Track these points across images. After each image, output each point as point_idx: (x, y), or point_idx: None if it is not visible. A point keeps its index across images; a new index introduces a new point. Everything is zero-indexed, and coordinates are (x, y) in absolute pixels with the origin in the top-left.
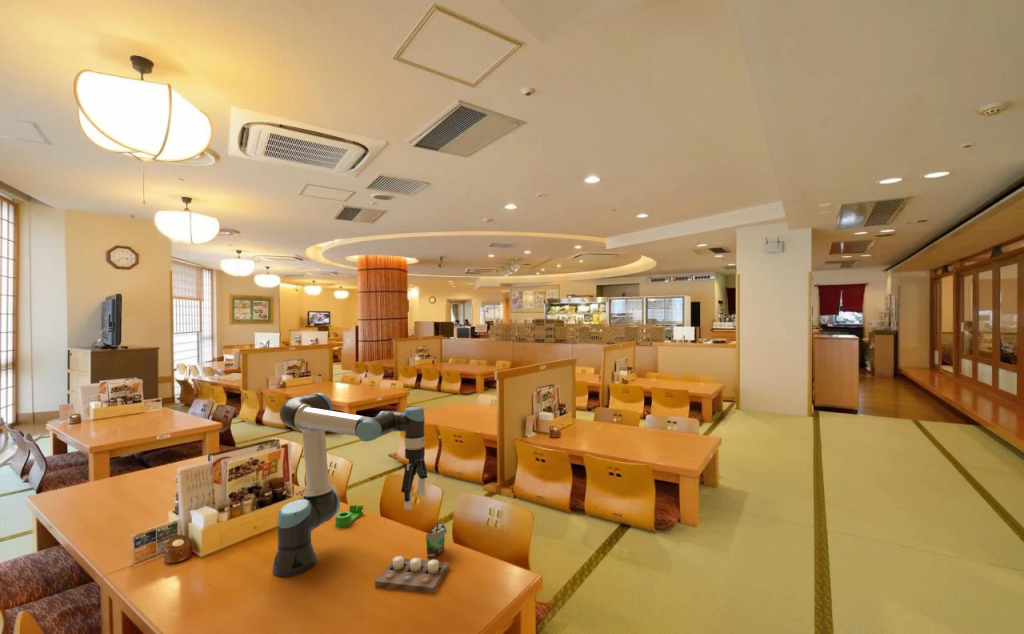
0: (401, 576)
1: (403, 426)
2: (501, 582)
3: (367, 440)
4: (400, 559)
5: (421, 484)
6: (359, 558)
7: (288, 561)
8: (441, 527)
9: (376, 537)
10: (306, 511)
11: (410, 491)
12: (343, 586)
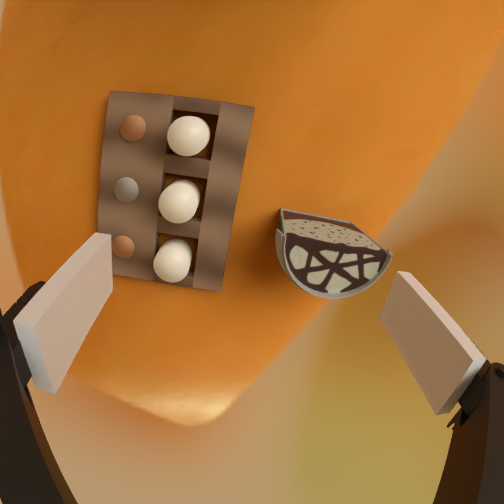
0: (136, 164)
1: None
2: (171, 389)
3: None
4: (183, 146)
5: (428, 355)
6: None
7: None
8: (353, 278)
9: (415, 20)
10: None
11: (51, 384)
12: (123, 4)
